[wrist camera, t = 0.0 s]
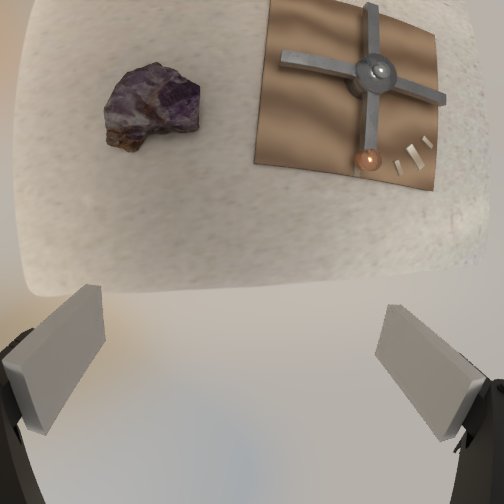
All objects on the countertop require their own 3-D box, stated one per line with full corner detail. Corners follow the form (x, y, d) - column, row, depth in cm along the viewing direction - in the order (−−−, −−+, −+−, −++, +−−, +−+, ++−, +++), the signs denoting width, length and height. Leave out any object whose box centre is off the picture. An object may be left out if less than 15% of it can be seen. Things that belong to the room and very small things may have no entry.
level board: (271, -7, 33) (273, -14, 31) (429, 37, 35) (437, 33, 33) (253, 163, 39) (255, 162, 37) (427, 190, 41) (435, 191, 39)
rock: (200, 144, 39) (195, 72, 36) (205, 136, 31) (200, 49, 28) (111, 156, 37) (108, 84, 34) (95, 152, 29) (93, 64, 26)
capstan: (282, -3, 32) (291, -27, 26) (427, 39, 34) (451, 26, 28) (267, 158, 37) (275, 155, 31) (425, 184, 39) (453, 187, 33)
